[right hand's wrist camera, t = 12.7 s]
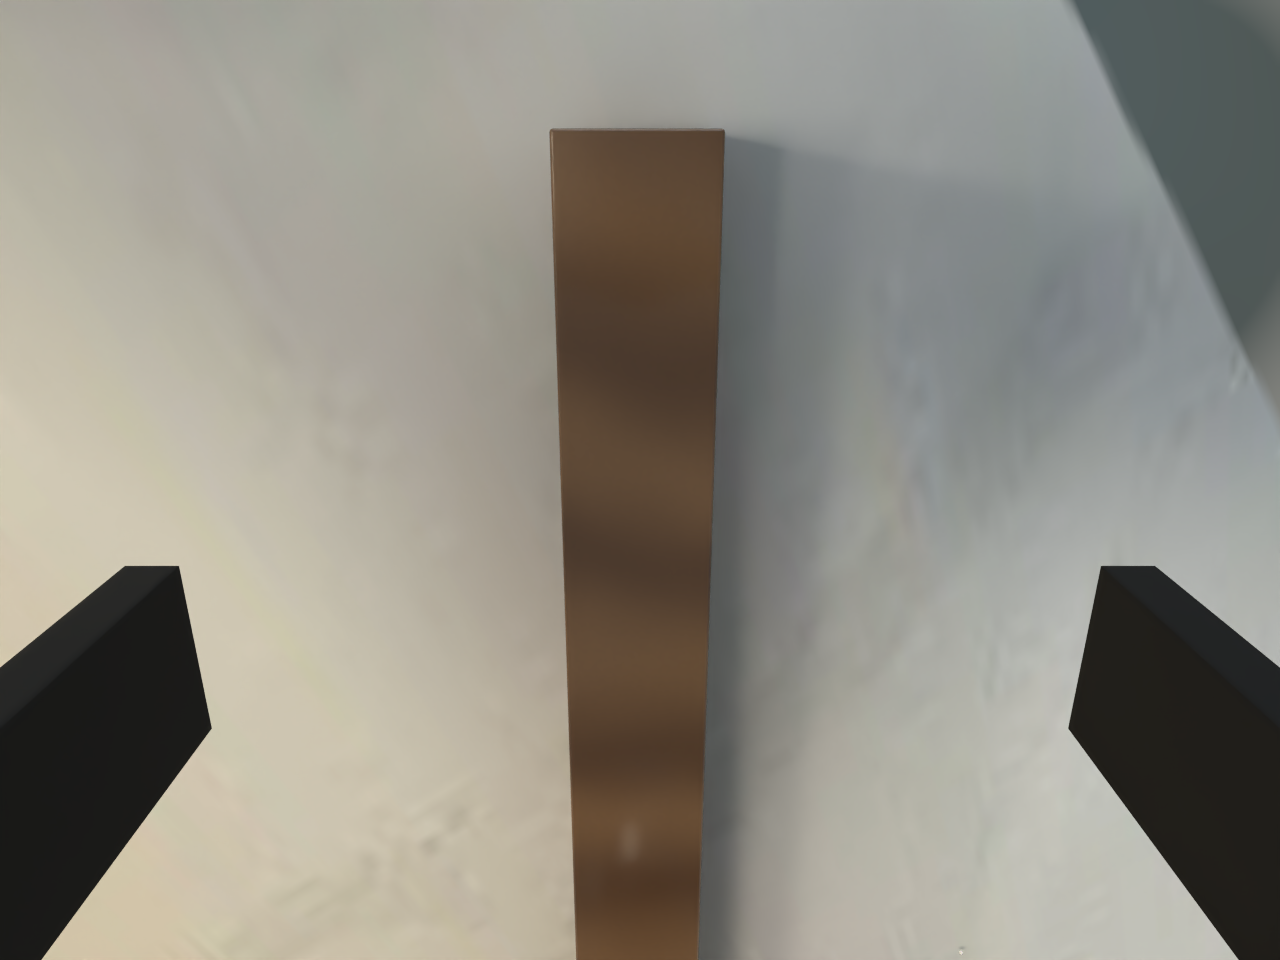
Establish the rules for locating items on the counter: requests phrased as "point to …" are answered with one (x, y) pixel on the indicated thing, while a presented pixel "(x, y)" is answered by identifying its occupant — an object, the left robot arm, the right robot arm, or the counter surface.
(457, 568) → the counter surface
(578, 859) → the bar
